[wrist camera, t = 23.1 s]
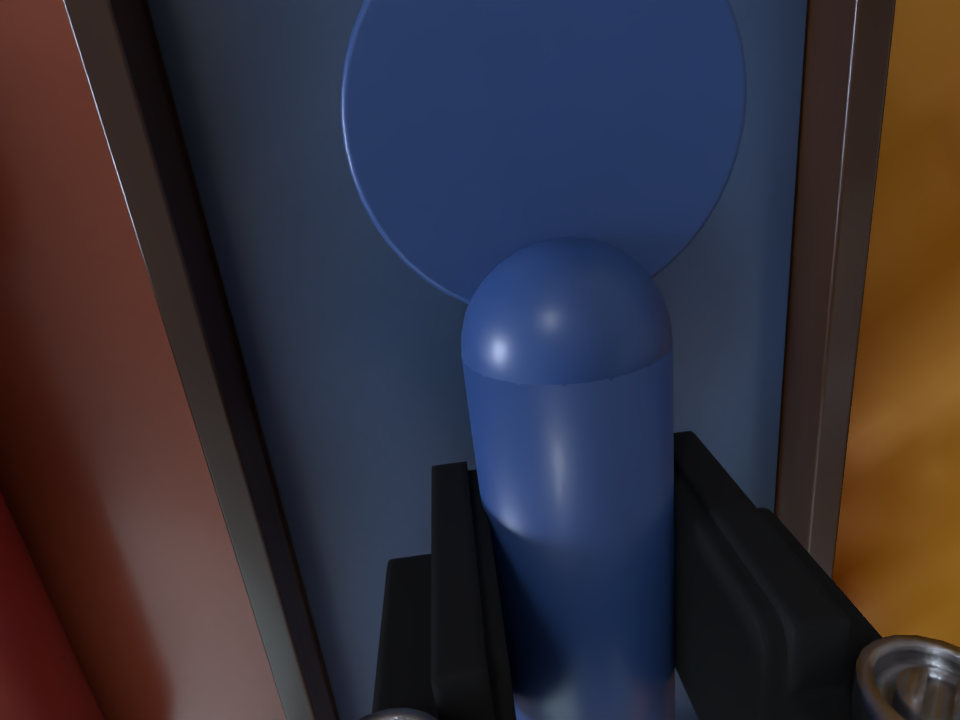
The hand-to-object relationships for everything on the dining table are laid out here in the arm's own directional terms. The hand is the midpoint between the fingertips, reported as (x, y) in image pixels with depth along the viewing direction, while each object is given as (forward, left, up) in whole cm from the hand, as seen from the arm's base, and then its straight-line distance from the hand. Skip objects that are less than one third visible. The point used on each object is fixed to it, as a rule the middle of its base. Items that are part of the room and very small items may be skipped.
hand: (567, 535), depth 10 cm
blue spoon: (0, 0, 0) cm, 0 cm away
